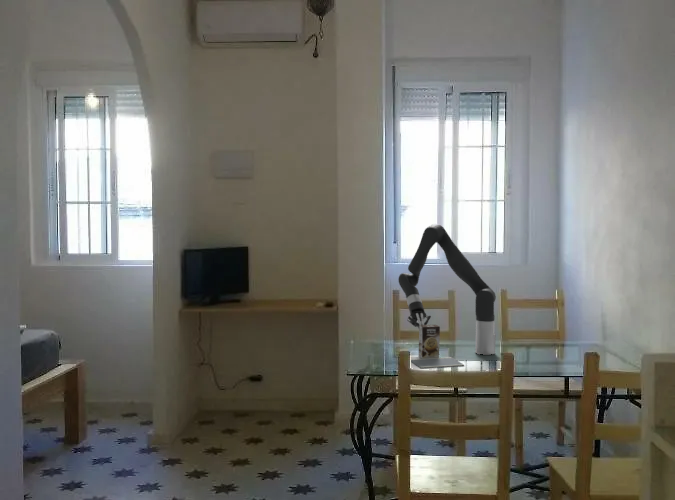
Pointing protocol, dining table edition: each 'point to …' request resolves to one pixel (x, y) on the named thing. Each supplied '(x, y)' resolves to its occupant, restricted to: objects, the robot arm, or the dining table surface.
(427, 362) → the mat
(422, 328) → the coffee box
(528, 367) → the dining table surface
